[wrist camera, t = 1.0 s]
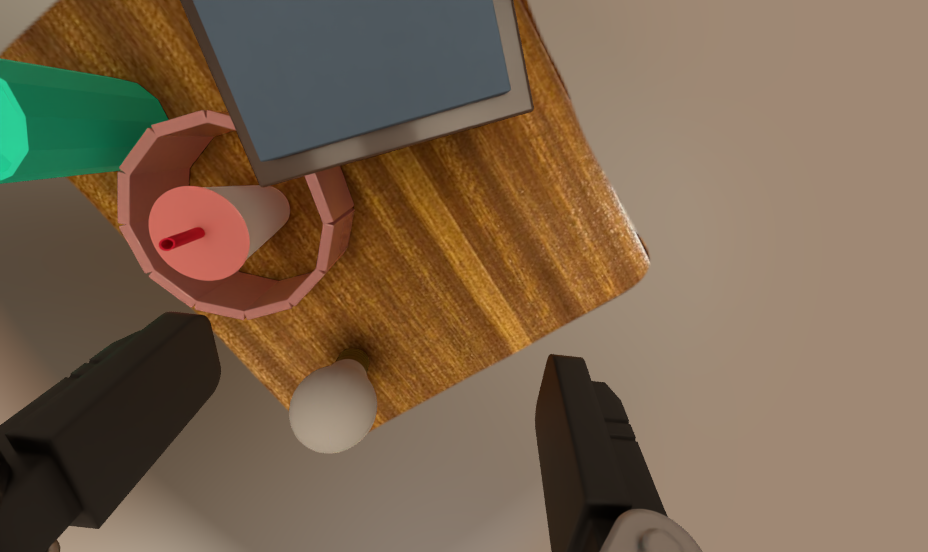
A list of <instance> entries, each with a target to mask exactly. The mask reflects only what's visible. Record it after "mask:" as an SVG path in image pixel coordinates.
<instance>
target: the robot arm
mask: <svg viewBox="0 0 928 552" xmlns="http://www.w3.org/2000/svg"><path fill="white" fill-rule="evenodd" d="M220 375H221V366H220V362H219V357H218V353H217V349H216V345H215V340H214V336H213V331H212V327H211V323H210V321H209V319H208V318H207V317H206V316H204V315H198V314H189V313H180V312H166V313H164V314H162V315H161V316H160V317H158V318H157V319H156V320H154V321H153V322H152V323H151V324H149V325H148V326H147V327H145V328H144V329H142V330H141V331H138V332H135V333H133V334H131V335H129V336H127V337H125V338H123V339H120V340H118V341H116V342H114V343H112V344H110V345H109V346H108V347H106V348H105V349H104V350H102V351H101V352H99V353H98V354H97V355H95V356H94V357H93V358H91V359H90V362H89V363H84V364H83V365H82V366H80V367H79V368H78V369H76V370H75V371H74V372H72V373H71V376H70V377H69V378H67V377H65V378H64V379H63V380H61V381H60V382H59V383H57V384H56V385H55V386H53V387H52V388H51V389H49V390H48V391H46V392H45V393H44V394H42V395H41V396H40V397H38V398H37V399H36V400H34V401H33V402H31V403H30V404H29V405H27V406H26V407H25V408H23V409H22V410H20V411H19V412H18V413H16V414H15V415H14V416H12V417H11V418H9V419H8V420H7V421H6V422H4V423H3V424H1V425H0V552H60V545H59V542H58V541H57V538H58V537H59V536H60V535H61V534H62V533H63V532H64V531H65V530H66V529H67V527H68V526H77V527H86V528H95V529H99V528H100V527H101V526H102V524H103V523H104V522H105V521H106V520H107V519H108V517H109V516H110V515H111V514H112V513H113V511H114V510H115V509H116V508H117V507H118V505H119V504H120V503H121V502H122V501H123V500H124V498H125V497H126V496H127V495H128V494H129V492H130V491H131V490H132V489H133V488H134V487H135V485H136V484H137V483H138V482H139V481H140V479H141V478H142V477H143V476H144V475H145V473H146V472H147V471H148V470H149V469H150V467H151V466H152V465H153V464H154V463H155V462H156V460H157V459H158V458H159V457H160V456H161V454H162V453H163V452H164V451H165V450H166V449H167V447H168V446H169V445H170V444H171V443H172V441H173V440H174V439H175V438H176V437H177V436H178V434H179V433H180V432H181V431H182V430H183V428H184V427H185V426H186V425H187V423H188V422H189V421H190V420H191V419H192V418H193V417H194V415H195V414H196V413H197V412H198V411H199V409H200V408H201V407H202V406H203V405H204V403H205V402H206V401H207V400H208V399H209V398H210V396H211V395H212V394H213V393H214V391H215V389H216V387H217V385H218V383H219V379H220ZM535 414H536V415H535V429H536V437H537V445H538V452H539V460H540V467H541V475H542V482H543V490H544V498H545V505H546V513H547V521H548V528H549V536H550V543H551V550H552V552H702V550H701V549H700V547H699V546H698V544H697V543H696V541H695V540H694V539H693V538H692V537H691V536H690V535H689V534H688V532H687V531H685V530H684V529H683V528H682V527H681V526H680V525H678V524H677V523H676V522H674V521H673V520H671V519H670V518H668V516H667V514H666V512H665V510H664V508H663V505H662V502H661V500H660V497H659V495H658V492H657V490H656V488H655V485H654V482H653V480H652V477H651V475H650V472H649V470H648V467H647V465H646V462H645V460H644V457H643V455H642V452H641V450H640V447H639V445H638V442H636V441H635V438H636V437H635V435H634V432H633V430H632V427H631V425H630V424H629V420H628V417H627V415H626V412H625V410H624V407H623V405H622V402H621V400H620V399H619V398H618V397H617V396H616V395H615V393H614V392H613V391H612V390H611V389H610V388H609V387H608V385H607V384H606V383H604V382H595V381H591V378H590V375H589V372H588V369H587V366H586V363H585V361H584V359H583V358H581V357H572V356H563V355H554V354H550V355H549V357H548V359H547V363H546V367H545V371H544V375H543V379H542V383H541V387H540V391H539V396H538V400H537V405H536V413H535Z"/></svg>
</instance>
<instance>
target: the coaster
mask: <svg viewBox="0 0 928 552" xmlns="http://www.w3.org/2000/svg"><path fill="white" fill-rule="evenodd" d="M193 2H194V5H195V7H196V9H197V12H198V14H199V17H200V19H201V21H202V24H203V26H204V28H205V31H206V33H207V36H208V38H209V40H210V43H211V45H212V47H213V50H214V52H215V55H216V57H217V59H218V62H219V64H220V66H221V69H222V71H223V74H224V76H225V78H226V81H227V83H228V85H229V88H230V90H231V93H232V95H233V97H234V100H235V102H236V104H237V107H238V109H239V112H240V114H241V116H242V119H243V121H244V124H245V126H246V128H247V131H248V133H249V135H250V138H251V140H252V143H253V145H254V147H255V150H256V152H257V154H258V157H259V159H260V161H261V162H264V161H271V160H275V159H279V158H282V157H286V156H289V155H293V154H296V153H300V152H303V151H307V150H310V149H314V148H317V147H321V146H324V145H328V144H331V143H335V142H338V141H342V140H345V139H349V138H352V137H356V136H359V135H363V134H366V133H369V132H373V131H376V130H380V129H383V128H387V127H390V126H394V125H397V124H401V123H404V122H408V121H411V120H415V119H418V118H422V117H425V116H429V115H432V114H436V113H439V112H443V111H446V110H450V109H453V108H457V107H460V106H464V105H467V104H471V103H474V102H478V101H481V100H485V99H488V98H492V97H495V96H499V95H502V94H506V93H507V92H509V91H510V90H511V86H510V82H509V77H508V72H507V67H506V62H505V57H504V53H503V48H502V43H501V38H500V33H499V28H498V24H497V19H496V14H495V9H494V4H493V0H193Z"/></svg>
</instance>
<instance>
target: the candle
mask: <svg viewBox="0 0 928 552" xmlns="http://www.w3.org/2000/svg"><path fill="white" fill-rule="evenodd" d="M167 120H168V118H167V116H166V114H165V112H164V110H163V108H162V106H161V104H160V102H159V101H158V99H157V98H155V97H154V96H153V95H152V94H150V93H149V92H148V91H146V90H145V89H144V88H143V87H141V86H140V85H139V84H138V83H135V82H130V81H126V80H122V79H117V78H113V77H107V76H101V75H95V74H89V73H83V72H77V71H71V70H65V69H59V68H54V67H48V66H42V65H36V64H30V63H24V62H18V61H12V60H6V59H0V184H2V183H11V182H20V181H29V180H38V179H48V178H56V177H66V176H75V175H84V174H93V173H102V172H111V171H120V170H121V169H119V167H120V165H121V164H122V163H123V161H124V160H125V158H126V157H127V156H128V154H129V153H130V151H131V150H132V149H133V147H134V146H135V145H136V143H137V142H138V140H139V139H140V138H141V136H142V135H143V134H144V132H145V131H146V129H147V128H152V126H151V125H153V124H156V123H160V122H163V121H167Z"/></svg>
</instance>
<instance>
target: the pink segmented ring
mask: <svg viewBox="0 0 928 552" xmlns="http://www.w3.org/2000/svg"><path fill="white" fill-rule="evenodd" d="M151 126H152V128H147V129H146V131H145V132H144V134H143V135H142V136H141V138H140V139H139V140H138V142H137V143H136V145H135V146H134V147H133V149H132V150H131V151H130V153H129V154H128V156H127V157H126V158H125V160H124V161H123V163H122V164H121V165H120V167H119V169H121V170H122V171H119V172H118V223H121V224H125V225H122V226H119V228H120V230H121V232H122V233H123V235H124V237H125V239H126V241H127V242H128V244H129V246H130V248H131V249H132V251H133V253H134V255H135V256H136V258H137V260H138V262H139V264H140V265H141V267H142V269H143V271H144V272H145V273H149V272H151V274H150V275H149V278H151V279H152V280H154V281H155V282H156V283H158V284H159V285H160V286H162V287H163V288H165V289H166V290H167V291H169V292H170V293H171V294H173V295H174V296H176V297H177V298H178V299H180V300H181V301H182V302H184V303H185V304H186V305H188V306H189V307H191V308H192V307H193V306H195V310H199V311H204V312H209V313H213V314H218V315H223V316H227V317H232V318H237V319H241V320H244V319H245V318H247V320H250V319H253V318H257V317H261V316H265V315H268V314H272V313H276V312H280V311H284V310H287V309H291V308H292V307H293V306H296V305H297V304H298V303H299V302H300V301H301V300H302V299H303V297H304V296H305V295H306V294H307V293H308V292H309V291H310V290H311V289H312V288H313V287H314V286H315V285H316V284H317V283H318V282H319V280H320V279H321V278H322V277H323V276H324V275H325V274H326V273H327V272H328V271H329V270H330V268H331V267H332V266H333V265H334V264H335V263H336V262H337V261H338V259H339V258H340V257H341V256H342V255H343V254H344V253H345V251H346V249H347V248H348V243H349V238H350V232H351V227H352V221H353V216H354V209H353V208H352V207H353V206H354V203H353V200H352V198H351V195H350V192H349V189H348V186H347V184H346V181H345V178H344V175H343V172H342V170H341V167H340V166H338V167H334V168H331V169H327V170H324V171H320V172H317V173H313V174H310V175H306V176H305V178H306V181H307V184H308V186H309V189H310V191H311V194H312V196H313V199H314V202H315V204H316V207H317V209H318V212H319V214H320V217H321V219H322V222H323V227H322V233H321V240H320V246H319V252H318V258H317V265H316V269H315V270H314V271H313V272H310V273H306V274H303V275H299V276H295V277H292V278H288V279H284V280H280V281H277V280H272V279H268V278H264V277H259V276H255V275H251V274H246V273H242V272H239V271H237V272H235V273H234V274H232V275H231V276H229V277H226V278H223V279H220V280H213V281H205V280H198V279H194V278H191V277H188V276H186V275H183V274H181V273H180V272H178V271H176V270H175V269H173V268H172V267H171V266H170V265H168V264H167V263H166V262H165V261H164V260H163V258H162V257H161V256H160V255H159V253H158V252H157V250H156V249H155V247H154V245H153V243H152V240H151V237H150V233H149V215H150V212H151V209H152V207H153V205H154V203H155V202H156V200H157V199H158V198H159V197H160V196H161V195H162V194H164V193H165V192H167V191H169V190H171V189H173V188H177V187H181V186H189V176H190V167H191V166H192V164H193V163H194V162H195V161H196V159H197V158H198V157H199V155H200V154H201V153H202V152H203V150H204V149H205V148H206V146H207V145H208V144H209V143H210V141H211V140H212V139H213V137H215V136H218V135H222V134H225V133H228V132H232V131H235V130H236V129H235V127H234V124H233V122H232V120H231V117H230V115H229V113H228V112H223V111H213V110H200V111H197V112H194V113H190V114H187V115H183V116H180V117H177V118H173V119H170V120H167V121H163V122H160V123H156V124H153V125H151Z"/></svg>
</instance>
